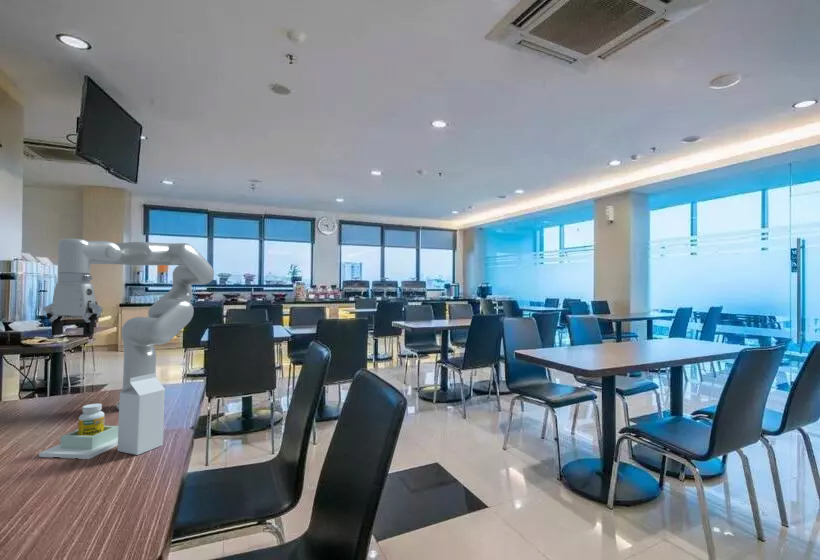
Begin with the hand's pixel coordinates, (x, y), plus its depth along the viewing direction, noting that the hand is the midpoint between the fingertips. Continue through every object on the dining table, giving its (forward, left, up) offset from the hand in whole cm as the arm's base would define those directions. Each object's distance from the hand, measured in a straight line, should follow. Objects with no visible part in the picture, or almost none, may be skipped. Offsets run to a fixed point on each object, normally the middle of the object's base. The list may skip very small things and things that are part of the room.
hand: (72, 335), depth 121 cm
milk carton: (+15, +34, -28) cm, 46 cm away
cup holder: (+14, +20, -27) cm, 37 cm away
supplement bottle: (+14, +20, -27) cm, 36 cm away
